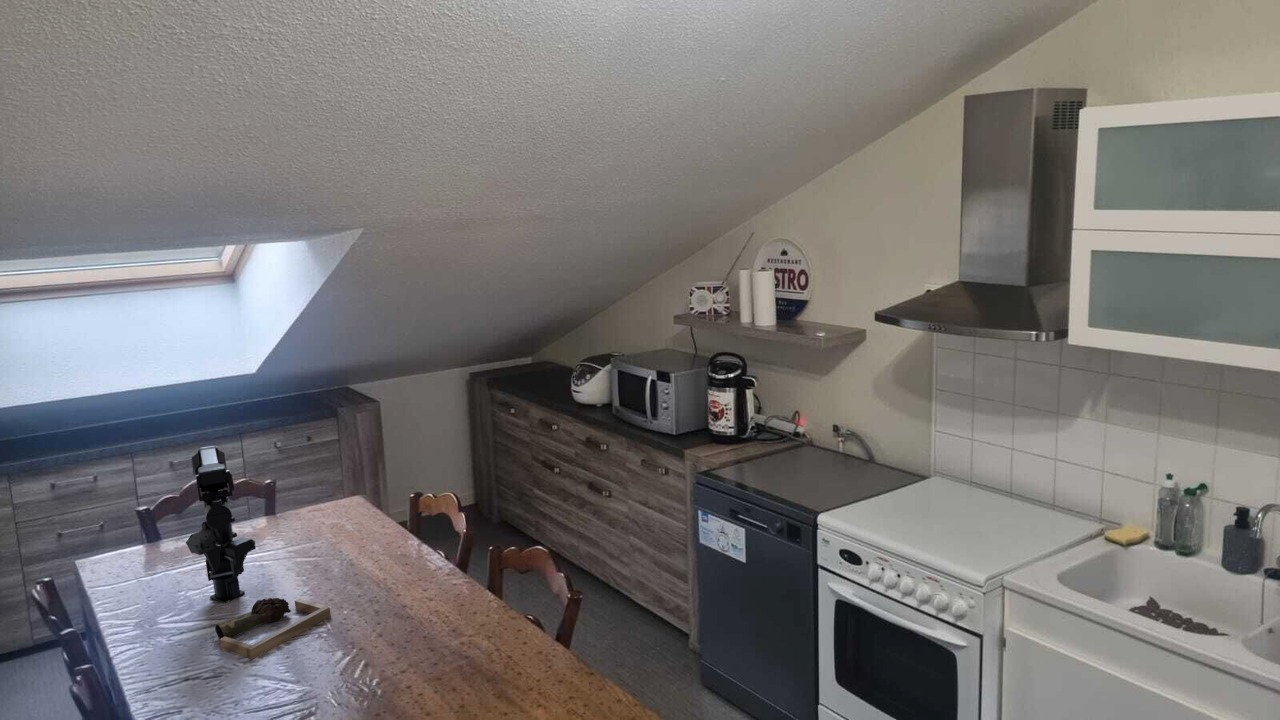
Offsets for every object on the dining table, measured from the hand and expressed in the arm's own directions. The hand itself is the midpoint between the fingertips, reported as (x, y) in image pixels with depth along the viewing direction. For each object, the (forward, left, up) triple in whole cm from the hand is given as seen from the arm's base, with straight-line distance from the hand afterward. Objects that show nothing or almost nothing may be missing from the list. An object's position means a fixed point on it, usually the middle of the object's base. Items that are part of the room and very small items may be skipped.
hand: (225, 574), depth 242 cm
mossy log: (+9, 0, -13) cm, 16 cm away
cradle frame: (+17, 0, -12) cm, 21 cm away
